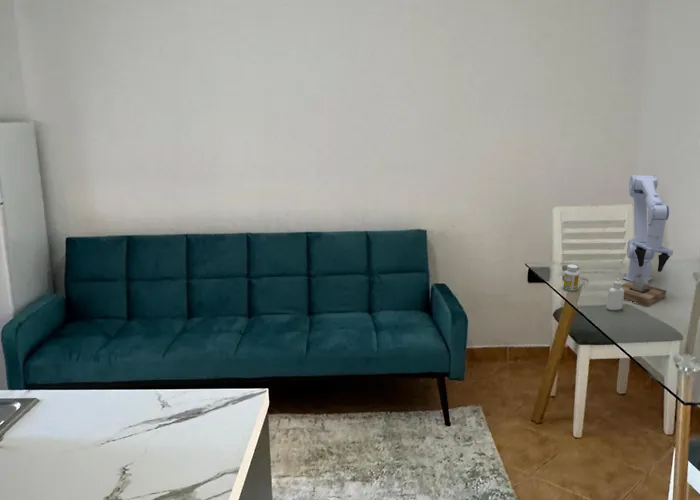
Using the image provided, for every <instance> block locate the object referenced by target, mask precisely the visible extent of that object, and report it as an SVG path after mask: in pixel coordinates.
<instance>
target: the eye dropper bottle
mask: <svg viewBox="0 0 700 500" xmlns="http://www.w3.org/2000/svg"><path fill="white" fill-rule="evenodd" d="M621 285H622V282H621V281H620V278H616V280H614V281H613V287H611V288H609V289H608V291H607V297H606V298H607V299H606V306H605V307H606V309H607V310H608V311H620V310H621V309H623V303H624V299H623V297H624V290H623V289H622V288H620V287H621Z"/></svg>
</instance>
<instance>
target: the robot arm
mask: <svg viewBox="0 0 700 500" xmlns="http://www.w3.org/2000/svg"><path fill="white" fill-rule="evenodd" d="M628 183H629V184H628V189H629V190H628V192H629V196H630V197H631V198H633V204H634V205H633V207H634V208H633V209H634V211H633V213H634V236H633V237H631V238H630V239H629V240H628V242H627V247H626V256H627V258H628V259H629V264H628V272H627V276H625V277H623V280H626V281H628V282H630V281H633V279H634V276H635V275H637V274H642V275H645V276H649V280H648V282H649V281H651V280H653V277H651V274H652V268H653V267H652V266H653V263H652V260H653V259H654V257H656V253H657V254H658V257H657V258H658V266H657V272H658V273H660V272H662V271H663V269H664V267H665V265H666V263H667V261H668V260H669V259H670V257H672V256H673V255H674V250H673V249H670V248H667V247H664V246H663V242H664V241H663V240H664V234H665V233H664V232H665V227H666V221H667V220H668V219H669V216H670V206H669V205H668V204H665V203H664V201H663V199H662V196H661V195H660V194H659V193H657V188H658V184H659V179H658V176H656V175H655V174H654V175H636V174H632V175H631V176H630V177H629V181H628ZM647 209H648V210H647Z"/></svg>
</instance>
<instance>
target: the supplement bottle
mask: <svg viewBox="0 0 700 500" xmlns="http://www.w3.org/2000/svg"><path fill="white" fill-rule="evenodd" d="M578 269H579V267H578V265H576V264H567V266H566V270H565V271H564V279H563V289H565V291H571V292H572V291H573V292H575V291H577V290H578V287H579V278H580V275H579V274H580V273H579V271H578Z"/></svg>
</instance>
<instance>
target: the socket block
mask: <svg viewBox="0 0 700 500" xmlns="http://www.w3.org/2000/svg"><path fill="white" fill-rule="evenodd" d="M632 286H633V281H628V282H625V283H623V284H621V287H620V288H622V289H623V290H624V297H623V298H624V299H627V300H630V301H634V302H636V303H635V304H637V303H638V304H637V305H641V306H644V307H646V308H647V307H649V306H651V305H653V304H655V303H657V302H659V301H661V300H663V299H665V298H666V294H667V290H666V289H662V288H659V287H656V286H652V285H649V284H648V287H647V292H646V293H644V294H642V293H639V292H636V291H633V290H632ZM664 297H665V298H664ZM624 299H623V300H624ZM627 300H626V301H627ZM630 301H629V302H630Z"/></svg>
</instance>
